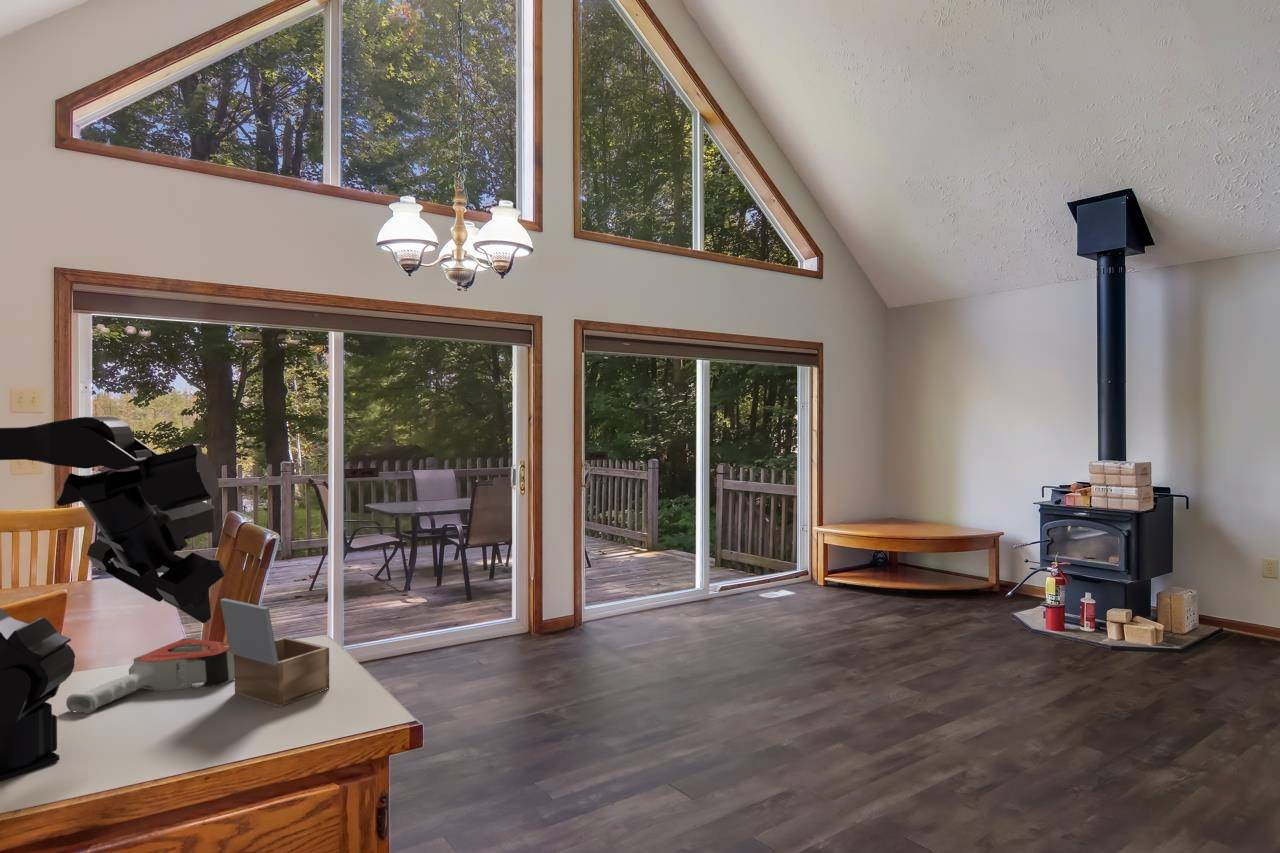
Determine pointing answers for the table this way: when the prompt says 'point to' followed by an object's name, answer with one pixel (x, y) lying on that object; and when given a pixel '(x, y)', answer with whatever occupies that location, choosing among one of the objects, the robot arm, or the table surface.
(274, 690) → the box
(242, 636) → the lid
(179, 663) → the tape dispenser
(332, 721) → the table surface
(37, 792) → the table surface
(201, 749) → the table surface
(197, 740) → the table surface
